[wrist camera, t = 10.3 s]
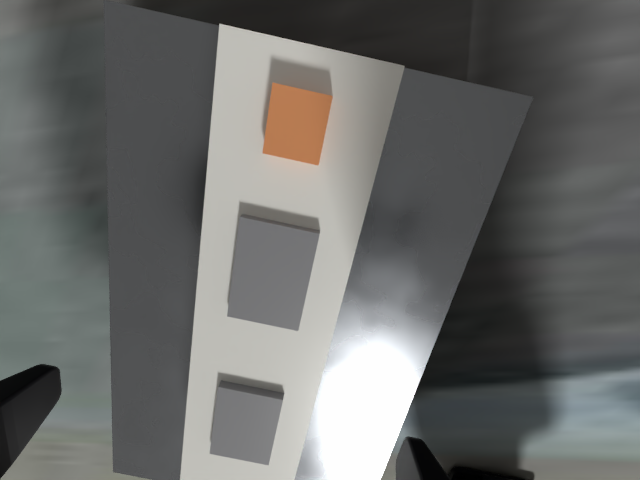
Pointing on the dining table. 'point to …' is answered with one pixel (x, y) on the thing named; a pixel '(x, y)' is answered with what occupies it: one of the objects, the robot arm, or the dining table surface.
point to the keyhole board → (367, 267)
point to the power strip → (276, 243)
